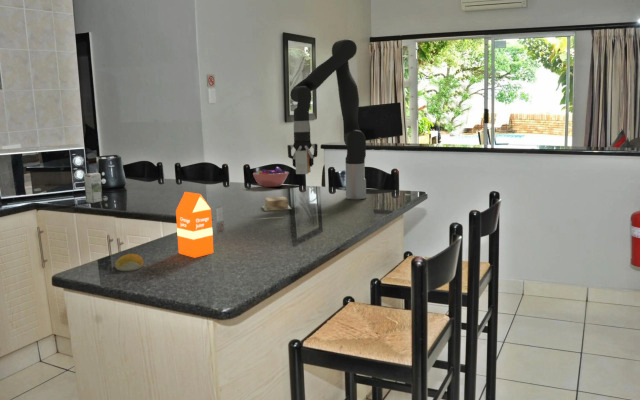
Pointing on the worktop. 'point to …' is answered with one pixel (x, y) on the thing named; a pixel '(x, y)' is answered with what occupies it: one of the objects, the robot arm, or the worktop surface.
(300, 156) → the small box
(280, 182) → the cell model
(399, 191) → the worktop surface
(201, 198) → the orange juice
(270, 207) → the oak block
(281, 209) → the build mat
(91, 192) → the syrup box
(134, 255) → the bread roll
